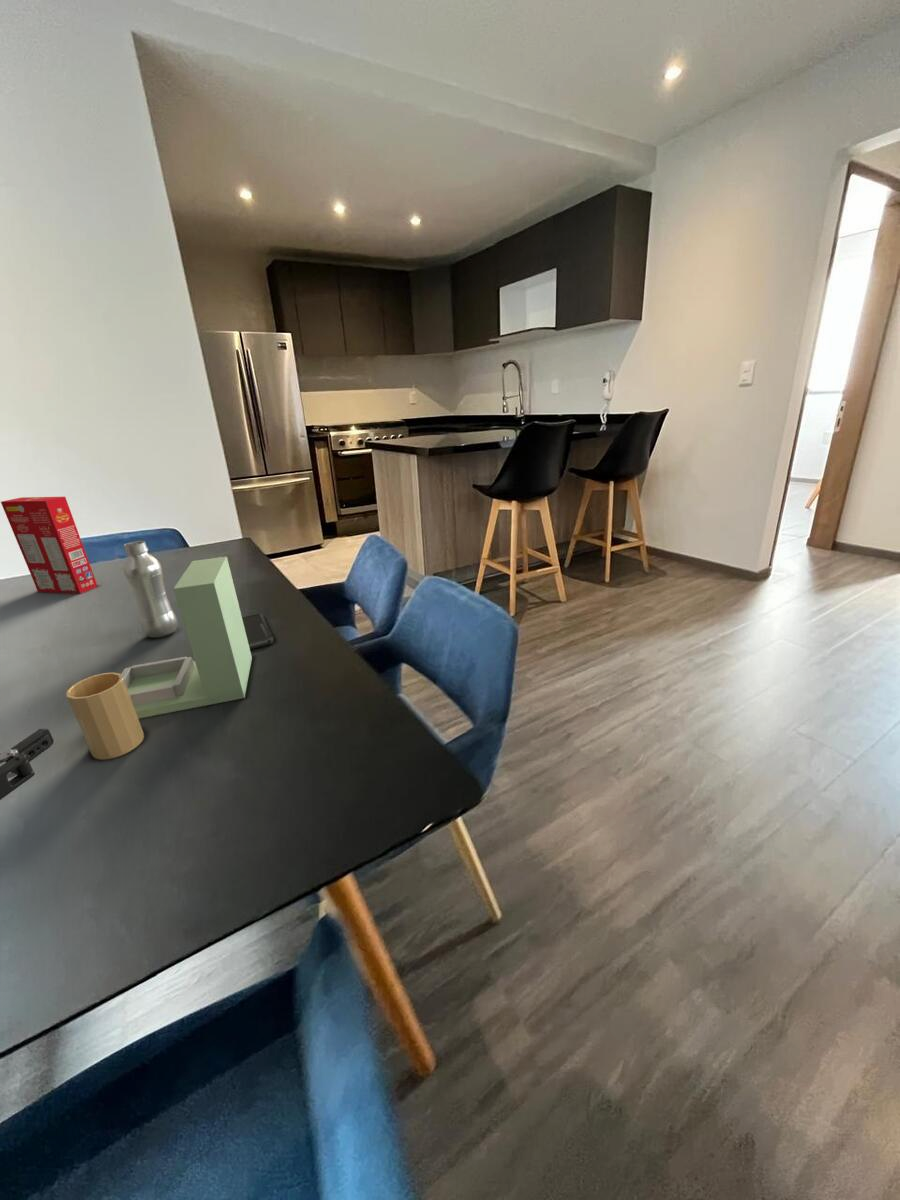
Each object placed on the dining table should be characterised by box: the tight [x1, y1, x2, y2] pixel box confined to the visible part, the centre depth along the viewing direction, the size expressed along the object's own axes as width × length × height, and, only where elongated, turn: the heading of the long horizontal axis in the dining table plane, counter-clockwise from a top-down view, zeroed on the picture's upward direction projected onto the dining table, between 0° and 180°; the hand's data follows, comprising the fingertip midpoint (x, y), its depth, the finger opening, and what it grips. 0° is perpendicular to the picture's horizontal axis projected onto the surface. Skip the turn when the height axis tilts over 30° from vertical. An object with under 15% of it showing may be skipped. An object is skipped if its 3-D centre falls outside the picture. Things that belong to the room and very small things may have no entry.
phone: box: [242, 613, 274, 651], centre depth 101 cm, size 8×1×15 cm
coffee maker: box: [120, 556, 253, 720], centre depth 79 cm, size 20×14×20 cm
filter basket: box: [65, 671, 145, 760], centre depth 68 cm, size 6×6×10 cm
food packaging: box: [0, 496, 98, 594], centre depth 131 cm, size 15×5×25 cm, turn 77°
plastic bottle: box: [123, 540, 178, 639], centre depth 100 cm, size 6×7×20 cm
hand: (17, 733), depth 56 cm, fingers open, 8 cm apart
